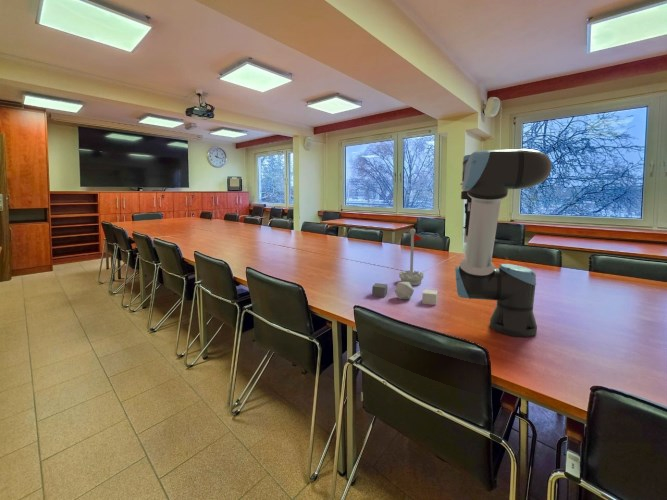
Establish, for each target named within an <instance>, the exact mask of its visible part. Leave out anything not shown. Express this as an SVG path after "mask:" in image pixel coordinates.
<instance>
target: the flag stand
mask: <svg viewBox="0 0 667 500" xmlns="http://www.w3.org/2000/svg"><path fill="white" fill-rule="evenodd" d="M409 233H410V234H411V235H410V256H409V257H410V263H409V270H408V269H407V270H405V272H404V271H402V270H401V271H399V274H398V275H399V277H398V278H400V282H409V283H410V284H411V286H419V285H421V284H422V280H423V279H424V278H425V277H424V272H423V271H422V272H419V271H418V270H414V251H415V250H414V249H415V248H414V247H415V246H414V244H415V243H416V242H418V241H419V240H422V239H423V237H421V236H419V235H417V234H416V229H415V228H411V229H410V230H409Z"/></svg>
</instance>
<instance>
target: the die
mask: <svg viewBox="0 0 667 500" xmlns="http://www.w3.org/2000/svg"><path fill="white" fill-rule="evenodd" d="M414 292H415V289H414V287H413V285H411V284H410V283H409V282H401V281H398V282H397V284H396V287H395V289H394V293H395V294H396V296H397V298H398V300H411V297H412V296H413V294H414Z"/></svg>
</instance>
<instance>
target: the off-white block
mask: <svg viewBox="0 0 667 500" xmlns="http://www.w3.org/2000/svg"><path fill="white" fill-rule="evenodd" d="M438 294H439V293H438V290H434V289H426V288H425V289H423V291H422V297H421V298H422V299H421V303H422V305H423V304H424V305H425V304H426V305H433V306H436V305H437V302H438Z"/></svg>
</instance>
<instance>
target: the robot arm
mask: <svg viewBox="0 0 667 500" xmlns="http://www.w3.org/2000/svg"><path fill="white" fill-rule="evenodd" d="M552 165H553V164H552V161H551V159H550V158H549V156H548V155H547V154H545V153H544V152H541V151H540V150H536V149H532V148H531V149H528V148H520V149H517V148H516V149H485V150H478V151H477V150H476V151H474V152H472V153H471V154H466V155H464V156H463V160H462V173H461V174H462V177H461V182H460V186H461V193H460V194H461V195H460V199H461V200H466V203H464V214H465V219H464V220H465V221H464V222H465V224H464V226H463V229H464V233H463V235H464V237H463V243H466V246H465V247H466V248H465V249H466V250H465V256H464V259H462V260H461V261H460V262H459V265H458V266H455V268H454V270H455V272H454V273H455V284H456V286H455V287H456V294H457V296H459V298H463V299H468V300H471V299H472V300H473V299H474V300H475V299H476V300H484V301H485V300H487V301H488V300H489V301H496V305H495V306H496V307H495V308H494V310H493V312H492V315H491V317H490V318H489V327H490V328H491V329H492V330H494V331H496V332H498V333H500V334H503V335H507V336H510V337H511V336H512V337H520V338H527V337H529V338H530V337H533V336H535V335H536V334H537V331H538V325H537V322H536V317H535V314H534V304H535V303H534V301H535V294H536V286H537V274H536V272H535V271H534V270H532V269H531V268H528V267H525V266H522V265H516V264H511V263H500V264H499V267H498V268H497V267H496V265H495V264H494V263H493V262H492V260H493V254H494V246H495V239H496V234H497V227H498V221H499V215H500V209H501V202H502V200H504V199H505V198H507V197H508V192H509V190H521V189H528V188H532V187H535V186H537V185H539V184H542V183H543V182H544V181H546V179H548V177H549V176H550V174H551V172H552V167H553V166H552Z"/></svg>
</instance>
